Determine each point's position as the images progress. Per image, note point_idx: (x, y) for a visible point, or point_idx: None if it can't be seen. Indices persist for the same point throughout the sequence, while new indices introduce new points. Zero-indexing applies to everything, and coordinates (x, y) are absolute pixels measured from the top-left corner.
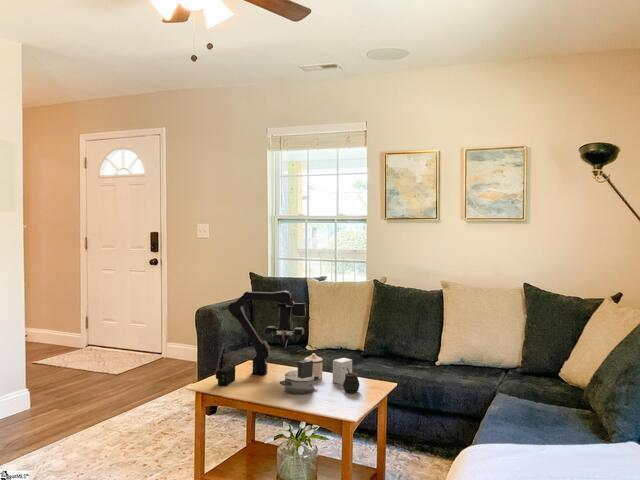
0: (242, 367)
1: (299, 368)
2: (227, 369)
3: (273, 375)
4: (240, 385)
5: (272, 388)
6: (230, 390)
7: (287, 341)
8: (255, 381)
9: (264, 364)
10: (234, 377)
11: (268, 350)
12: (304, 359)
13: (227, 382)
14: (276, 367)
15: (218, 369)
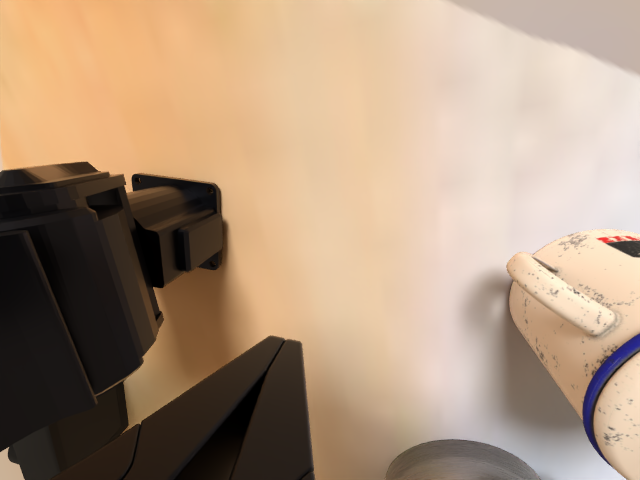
0: (22, 84)
1: None
2: (47, 467)
3: (278, 258)
4: None
5: (322, 461)
6: None
7: (312, 463)
8: (214, 367)
9: (176, 277)
10: None
11: (95, 349)
12: (596, 413)
13: (115, 430)
14: (248, 21)
15: (8, 452)
